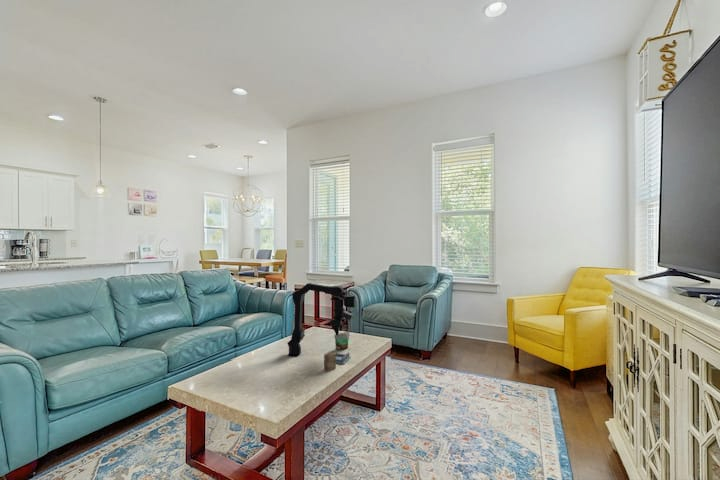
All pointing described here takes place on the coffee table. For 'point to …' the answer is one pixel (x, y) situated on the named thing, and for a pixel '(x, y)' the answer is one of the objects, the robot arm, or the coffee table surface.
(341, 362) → the cradle
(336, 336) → the food container
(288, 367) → the coffee table surface
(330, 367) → the walnut block
